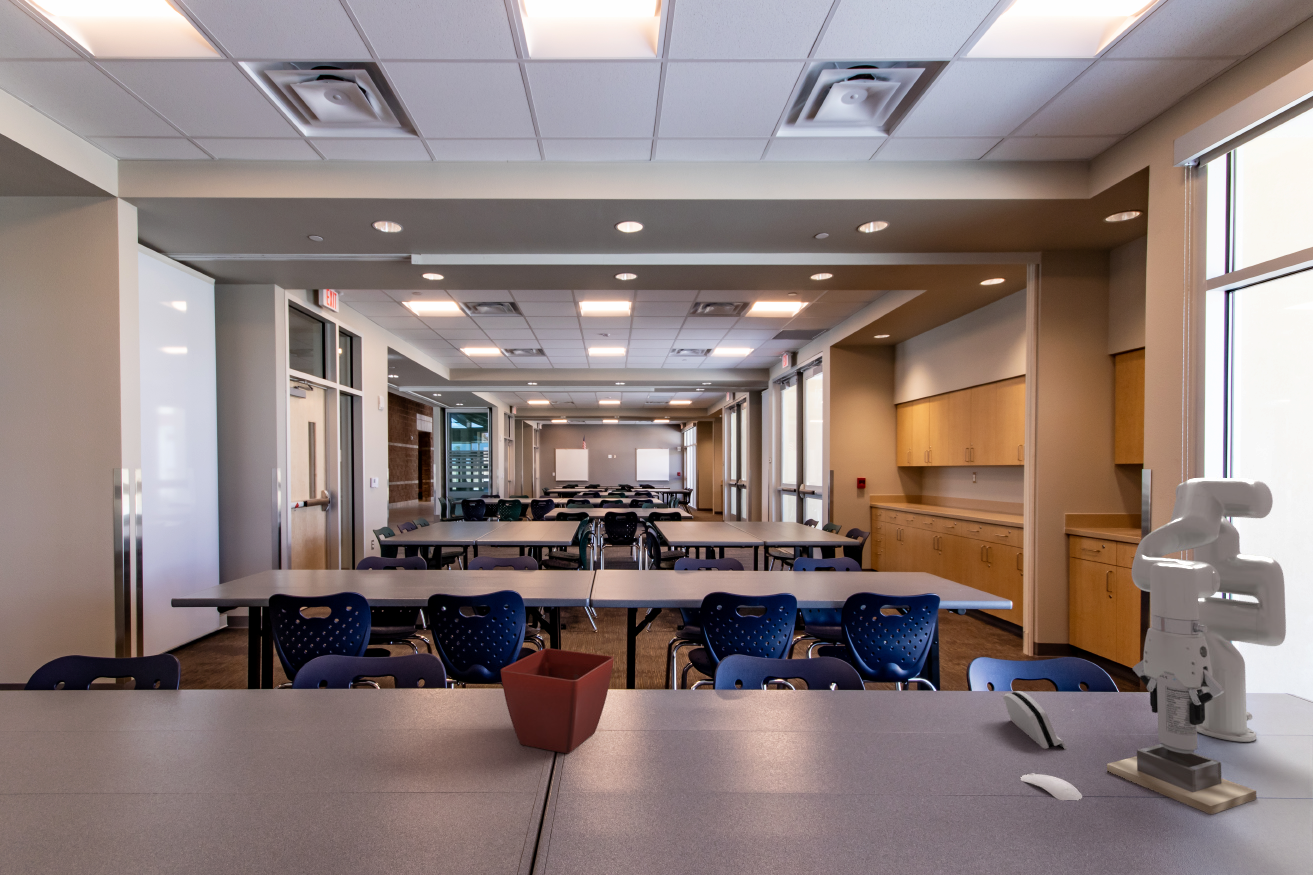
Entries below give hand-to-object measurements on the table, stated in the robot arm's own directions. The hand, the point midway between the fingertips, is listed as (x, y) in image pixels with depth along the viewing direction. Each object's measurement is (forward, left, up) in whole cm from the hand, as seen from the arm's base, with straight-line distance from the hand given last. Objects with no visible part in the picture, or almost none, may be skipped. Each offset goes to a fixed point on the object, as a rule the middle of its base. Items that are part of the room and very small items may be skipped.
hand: (1177, 716), depth 128 cm
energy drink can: (0, 0, -6) cm, 6 cm away
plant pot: (+108, -66, -13) cm, 127 cm away
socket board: (0, 0, -13) cm, 13 cm away
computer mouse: (+25, -9, -14) cm, 30 cm away
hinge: (+4, -28, -14) cm, 32 cm away
